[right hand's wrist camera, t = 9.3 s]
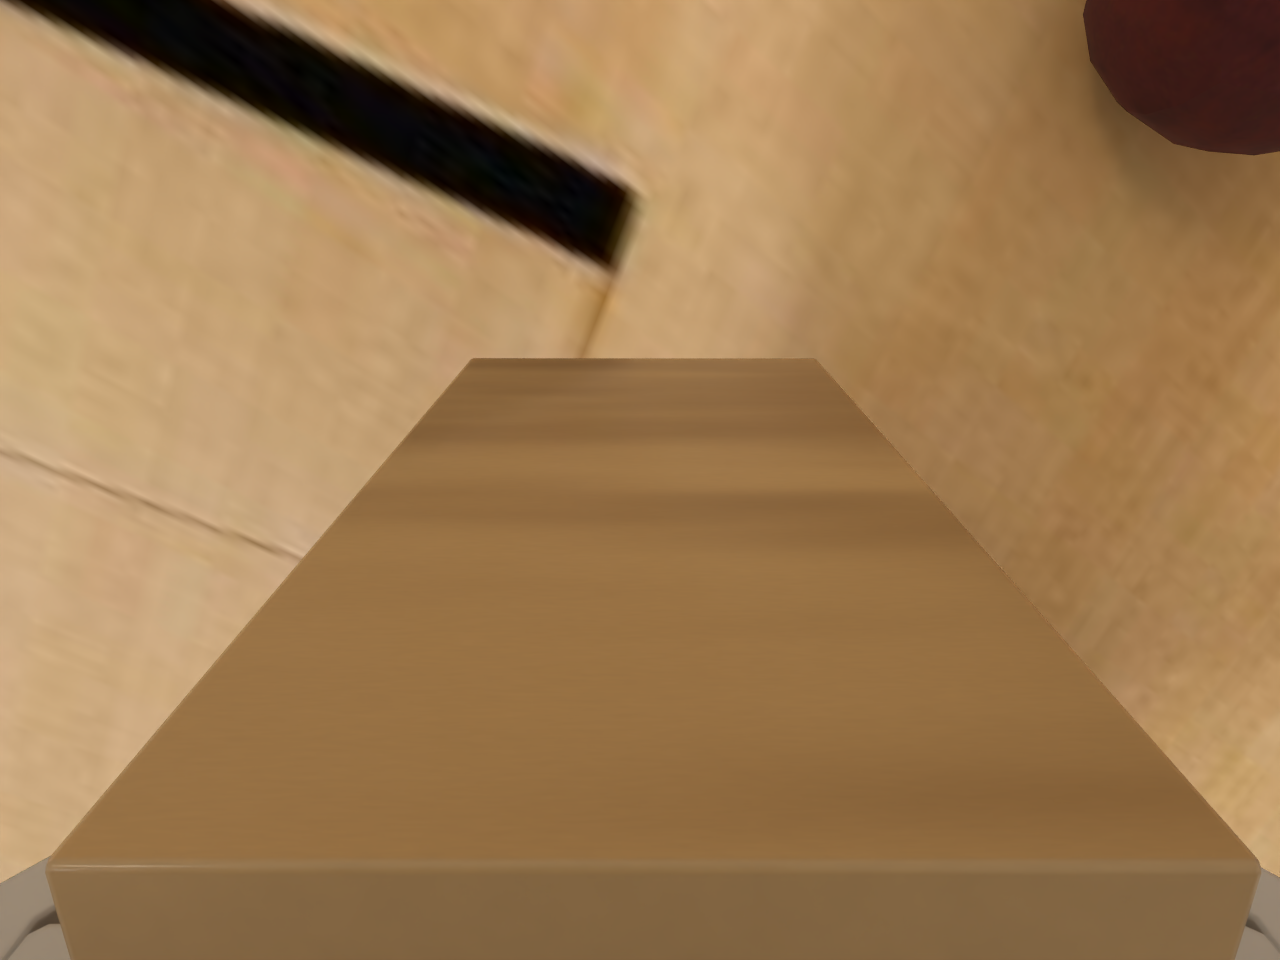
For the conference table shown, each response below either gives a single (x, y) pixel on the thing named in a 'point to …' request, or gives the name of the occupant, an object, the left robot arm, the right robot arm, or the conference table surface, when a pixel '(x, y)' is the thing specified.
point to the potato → (1193, 68)
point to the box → (650, 715)
